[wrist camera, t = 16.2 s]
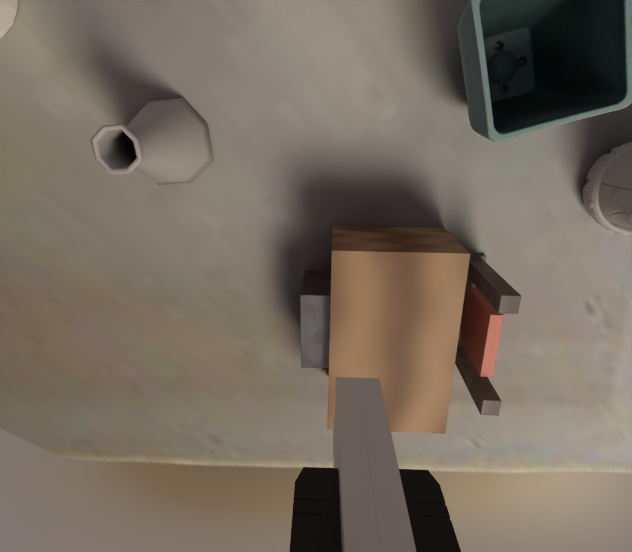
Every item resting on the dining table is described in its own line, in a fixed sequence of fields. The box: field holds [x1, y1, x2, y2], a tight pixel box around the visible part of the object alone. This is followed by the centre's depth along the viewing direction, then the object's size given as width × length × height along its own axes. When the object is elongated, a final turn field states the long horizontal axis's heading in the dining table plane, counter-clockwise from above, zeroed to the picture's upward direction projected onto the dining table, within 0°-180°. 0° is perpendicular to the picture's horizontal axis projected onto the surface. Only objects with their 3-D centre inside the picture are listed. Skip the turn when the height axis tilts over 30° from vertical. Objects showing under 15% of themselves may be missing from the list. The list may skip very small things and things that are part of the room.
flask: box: [90, 98, 213, 184], centre depth 32 cm, size 7×7×10 cm
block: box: [328, 225, 521, 433], centre depth 37 cm, size 14×16×9 cm
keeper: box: [460, 287, 504, 377], centre depth 37 cm, size 1×6×6 cm, turn 179°
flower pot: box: [457, 0, 632, 142], centre depth 29 cm, size 9×9×9 cm
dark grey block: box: [300, 271, 331, 368], centre depth 38 cm, size 12×7×6 cm, turn 90°
